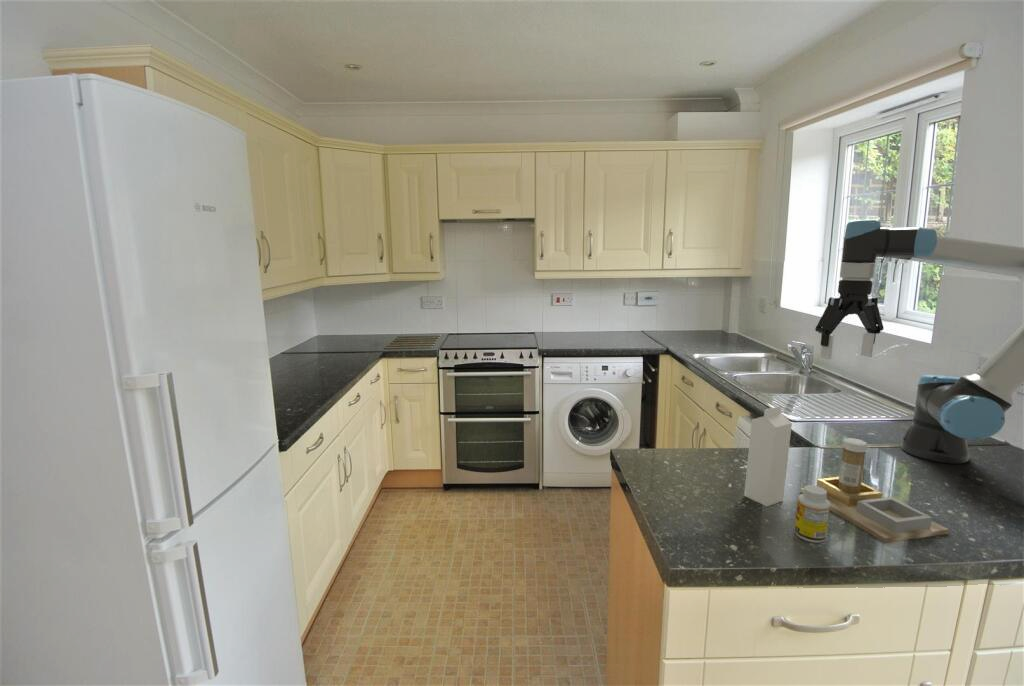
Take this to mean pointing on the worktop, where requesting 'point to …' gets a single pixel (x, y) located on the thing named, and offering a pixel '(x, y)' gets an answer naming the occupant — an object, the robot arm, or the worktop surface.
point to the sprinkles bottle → (852, 465)
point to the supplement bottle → (812, 514)
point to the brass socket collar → (845, 497)
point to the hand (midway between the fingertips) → (846, 357)
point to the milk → (768, 457)
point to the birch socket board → (877, 529)
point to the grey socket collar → (909, 523)
